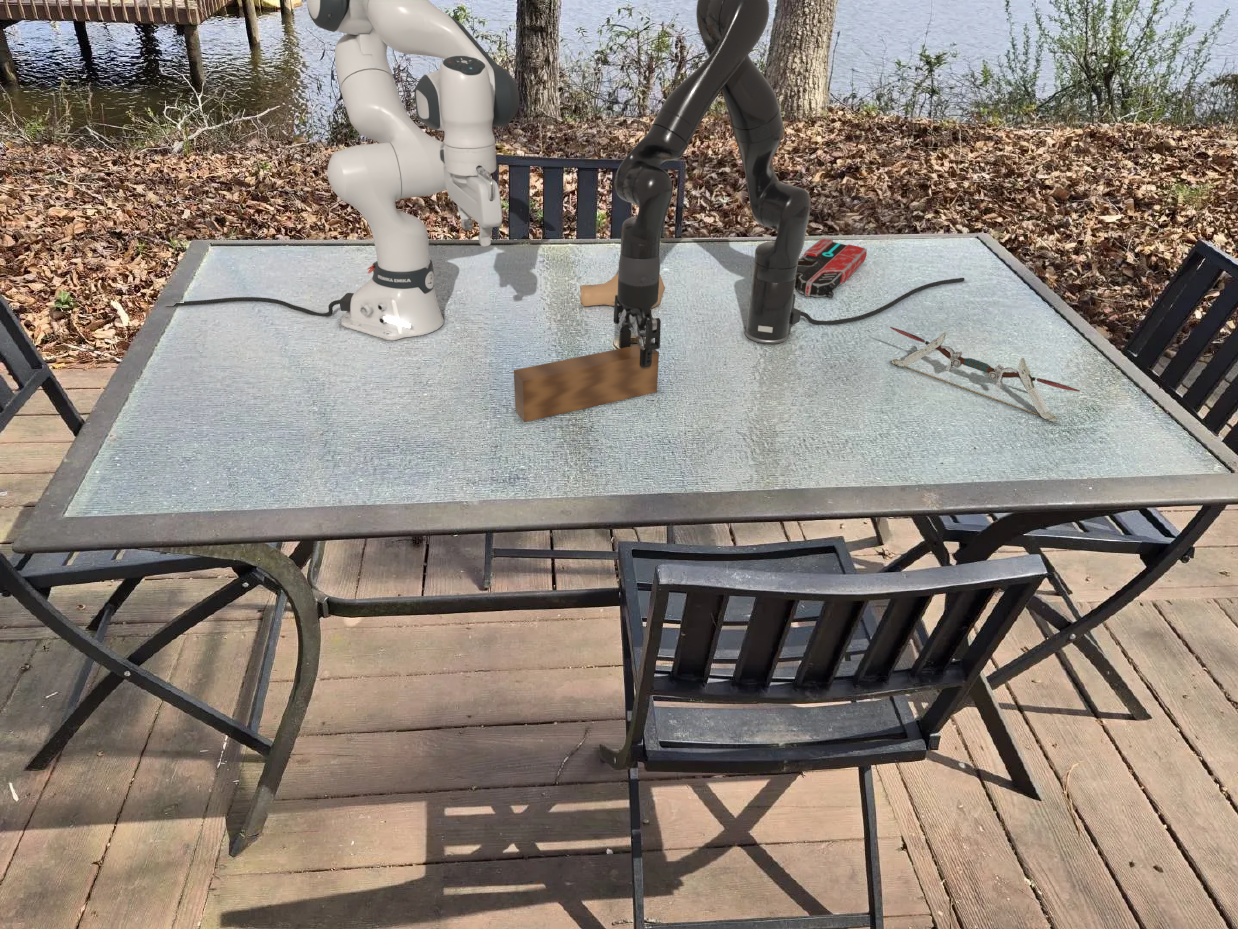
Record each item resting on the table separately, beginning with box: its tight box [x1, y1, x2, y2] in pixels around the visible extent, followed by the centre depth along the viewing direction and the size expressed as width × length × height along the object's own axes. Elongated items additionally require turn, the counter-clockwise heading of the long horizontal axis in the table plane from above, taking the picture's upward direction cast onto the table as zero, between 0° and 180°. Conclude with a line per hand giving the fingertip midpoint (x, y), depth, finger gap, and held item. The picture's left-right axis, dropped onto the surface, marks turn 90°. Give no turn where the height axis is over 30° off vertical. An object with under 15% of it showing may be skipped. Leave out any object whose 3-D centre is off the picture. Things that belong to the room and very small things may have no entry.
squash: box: [579, 273, 666, 309], centre depth 204 cm, size 11×20×9 cm, turn 90°
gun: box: [795, 237, 868, 299], centre depth 225 cm, size 4×31×19 cm
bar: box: [513, 344, 660, 423], centre depth 166 cm, size 28×5×9 cm, turn 117°
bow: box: [889, 326, 1081, 422], centre depth 173 cm, size 39×2×10 cm, turn 47°
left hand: (475, 236), depth 161 cm, fingers open, 8 cm apart
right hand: (634, 357), depth 168 cm, fingers open, 8 cm apart
